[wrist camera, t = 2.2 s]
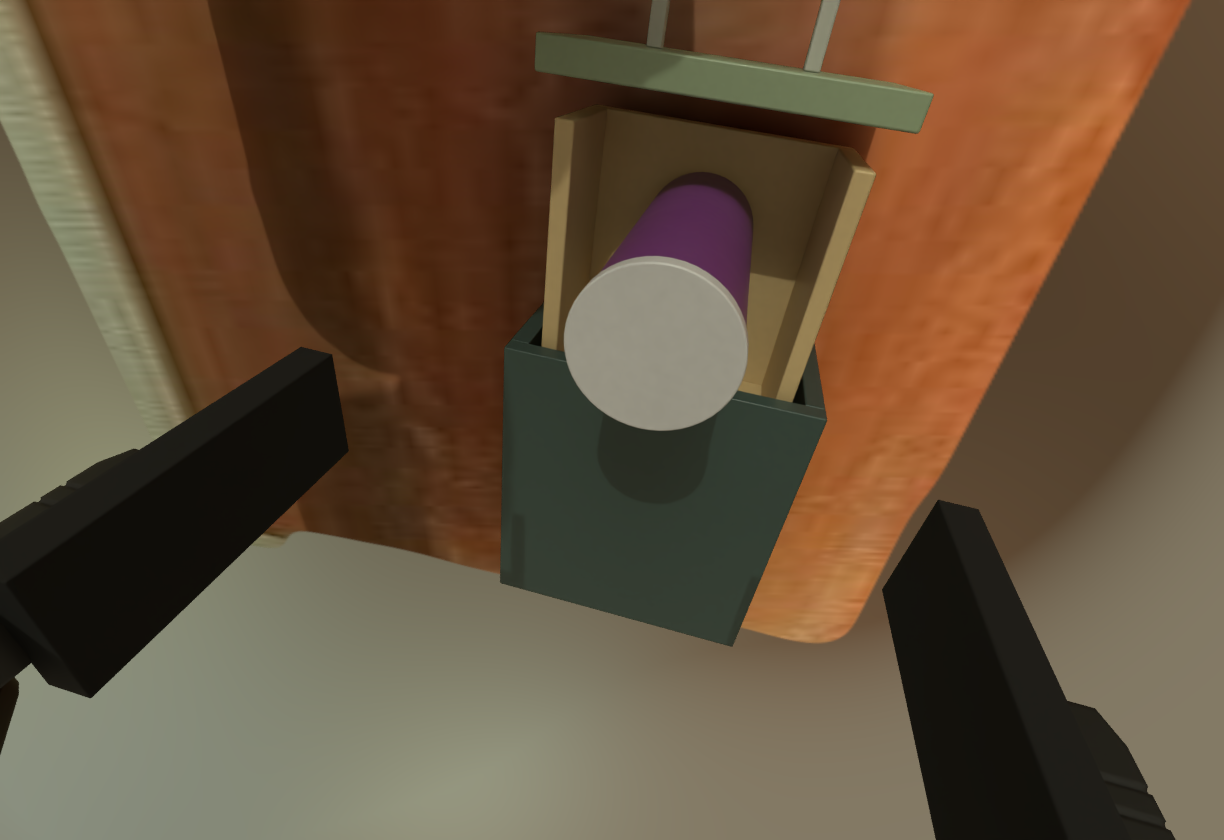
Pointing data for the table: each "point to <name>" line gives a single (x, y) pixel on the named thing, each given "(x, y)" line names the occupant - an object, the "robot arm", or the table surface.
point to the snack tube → (669, 310)
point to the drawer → (754, 161)
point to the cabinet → (646, 496)
